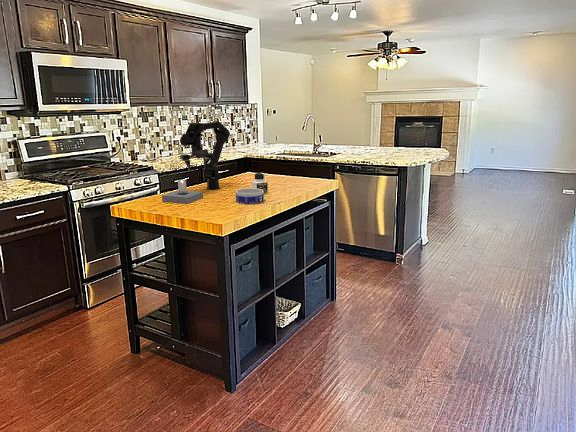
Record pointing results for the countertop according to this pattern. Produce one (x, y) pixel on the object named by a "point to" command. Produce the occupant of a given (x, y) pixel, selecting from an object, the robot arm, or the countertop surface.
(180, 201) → the socket block
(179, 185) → the peg
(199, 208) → the countertop surface
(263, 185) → the medicine bottle
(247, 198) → the dog bowl
